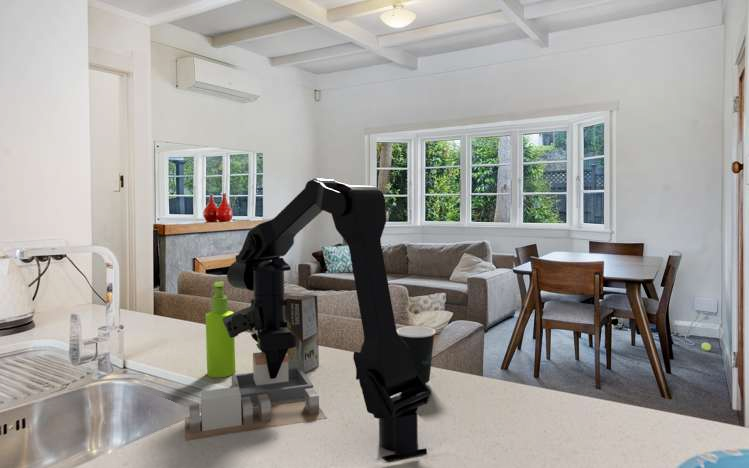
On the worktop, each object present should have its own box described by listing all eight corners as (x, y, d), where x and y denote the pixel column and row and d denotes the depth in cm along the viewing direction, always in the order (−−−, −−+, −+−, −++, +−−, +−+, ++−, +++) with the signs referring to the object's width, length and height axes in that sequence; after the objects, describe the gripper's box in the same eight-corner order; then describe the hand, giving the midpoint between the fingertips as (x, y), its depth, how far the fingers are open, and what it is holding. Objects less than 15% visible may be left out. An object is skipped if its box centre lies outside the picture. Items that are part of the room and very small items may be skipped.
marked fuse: (288, 381, 98) (288, 355, 98) (256, 385, 96) (255, 358, 96) (284, 374, 102) (284, 349, 101) (253, 378, 100) (252, 353, 99)
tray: (313, 401, 96) (313, 385, 96) (237, 412, 91) (237, 395, 91) (300, 381, 107) (299, 366, 107) (231, 390, 102) (231, 375, 102)
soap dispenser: (206, 380, 108) (203, 285, 107) (207, 370, 115) (205, 280, 114) (235, 377, 110) (233, 283, 109) (235, 367, 116) (233, 279, 115)
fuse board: (327, 424, 86) (326, 400, 86) (185, 446, 78) (184, 421, 78) (314, 404, 94) (313, 382, 94) (185, 423, 87) (184, 400, 86)
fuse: (241, 424, 83) (240, 394, 83) (202, 431, 81) (201, 399, 81) (239, 415, 87) (238, 386, 87) (201, 421, 85) (200, 391, 85)
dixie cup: (438, 391, 100) (438, 335, 100) (397, 392, 100) (396, 335, 99) (433, 377, 108) (432, 325, 108) (395, 378, 108) (394, 326, 107)
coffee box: (320, 365, 118) (319, 294, 117) (304, 373, 112) (302, 299, 111) (287, 360, 122) (286, 292, 121) (270, 367, 116) (268, 296, 115)
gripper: (221, 289, 104) (223, 366, 105) (229, 305, 86) (231, 397, 87) (277, 285, 108) (278, 359, 109) (295, 300, 90) (297, 388, 91)
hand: (271, 374), depth 99 cm, fingers closed on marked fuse, 4 cm apart
